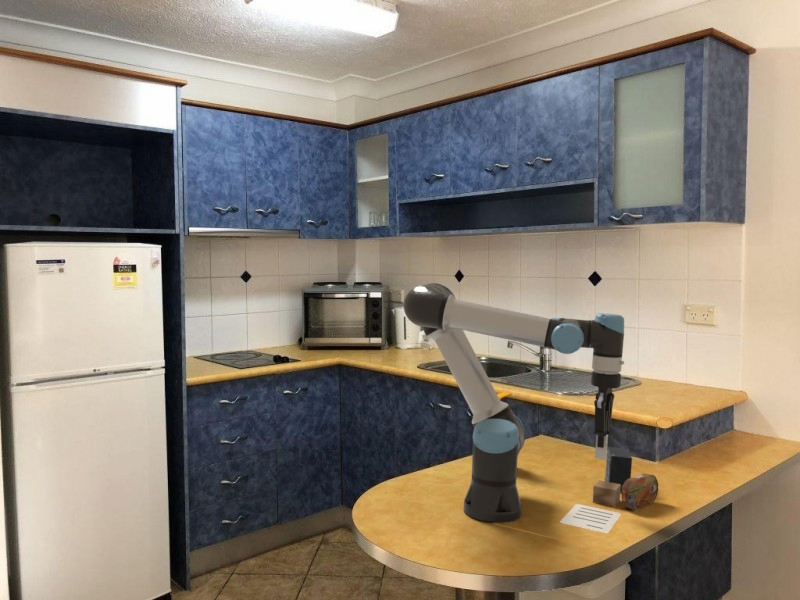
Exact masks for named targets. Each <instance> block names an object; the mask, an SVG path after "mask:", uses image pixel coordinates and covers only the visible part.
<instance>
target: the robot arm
mask: <svg viewBox="0 0 800 600" xmlns="http://www.w3.org/2000/svg"><path fill="white" fill-rule="evenodd" d="M403 301H404V302H403V311H404V315H405V316H406V318H407V319H408V321H410V322H411V323H412V324H413V325H415V326H417V327H421V329H422V330H423V333H424V334H425V336H426V338H428V339H431V340H433V341H434V343H435V344H436V346H437V348H438V350H439V352H440V353H441V355H442V357H443V359H444V361H445V363H446V365H447V367H448V369H449V371H450V373H451V374H452V377H453V378H454V380H455V382H456V384H457V385H458V388H459V389H460V390H459V391H460V392H461V394H462V396H463V397H464V399H465V401H466V404H468V408H469V409H470V411H471V413H472V415H473V416H472V420H471V424H472V426H473V432H472V457H471V459H472V460H471V461H472V462H471V463H472V464H471V478H470V479H471V480H470V484H469V487H468V489H467V491H466V495H465V497H464V500H463V512H464V513H465V514H466V515H467V516H468V517H470V518H473V519H475V520H478V521H482V522H488V523H497V524H498V523H499V524H500V523H502V524H503V523H509V522H510V523H511V522H514V521H518V520H519V519H520V518H521V517H522V514H523V513H522V511H523V507H522V501H521V499H520V494H519V491H518V487H517V475H518V473H517V472H518V459H519V458H518V456H519V454H520V452H521V450H522V449H523V447H524V445H525V441H526V431H525V430H526V429H525V426H524V424H523V422H522V421H521V420H520V419H519V417H518V416H516V415H515V414H514V412H513V410H512V408H511V407H510V405H509V403H507V402H504V401H501V400H500V399H499V397H498V395H497V394H498V393H497V392H496V390H495V388H494V386H493V384H492V382H491V380H490V378H489V376H488V374H487V373H486V371H485V369H484V367H483V365H482V364H481V362H480V360H479V358H478V356H477V354H476V352H475V350H474V348H473V346H472V345H471V343H470V341H469V338H468V337H467V335H466V333H465V331H467V332H471V333H476V334H480V335H485V336H490V337H494V338H498V339H503V340H507V341H514V342H519V343H523V344H527V345H533V346H537V347H541V348H546V349H549V350H554V351H557V352H558V353H560V354H563V355H565V354H566V355H570V354H573V353H575V352H578V351H579V350H580V349H581V348H582V349H583V348H585V349H593V351H592V358H591V359H592V361H591V369H592V371H591V378H590V383H591V385H592V386H593V387H597V388H598V389H597V392H596V393H595V399H594V401H593V404H594V431H593V435H595V448H594V449H595V451H594V459H598V460H603V461H605V460H606V461H607V447H608V441H609V440H608V439H609V435H612V431H610V430H611V424H612V423H611V422H612V415H613V406H614V399H615V398H616V397H615V396H616V395H615V394H614V393H613V389H619V388H620V387H621V380H622V379H621V378H622V375H621V373H620V372H622V367H623V366H622V365H625V361H624V360H623V351H624V337H625V318H624V317H623V316H622V314H621V315H620V314H618V313H617V314H616V313H599V312H598V313H596V314H595V316H594V319H590V320H587V319H575V318H565V317H559V318H558V317H557V318H556V317H552V318H549V317H544V316H538V315H534V314H528V313H525V312H520V311H514V310H509V309H504V308H499V307H494V306H490V305H486V304H485V305H484V304H481V303H475V302H471V301H466V300H465V301H464V300H460V299H456V296H455V294H454V292H453V291H452V290H451V289H450V288H448V287H447V286H445V285H442V284H441V283H437V282H435V283H434V282H433V283H427V284H419V285H416V286H414V287H413V288H411V289H410V290H408V292H407V293H406V296H405V297H404V300H403Z"/></svg>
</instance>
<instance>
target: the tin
mask: <svg viewBox="0 0 800 600" xmlns="http://www.w3.org/2000/svg"><path fill="white" fill-rule="evenodd" d="M658 492H659V482H658V479H657V477H656V476H655V475H654V474H650V473H649V474H648V473H641V474H638V475H635V476H631V478H629V479H627V480H626V481H625V482H624V484H623V487H622V491H621V503H622V505H623V507H624V508H626V509H629V510H631V511H632V510H633V511H637V510H639V509H641V508H644V507H647V506H650V505H653V504H654V502H655V501H656V500H657V497H658Z"/></svg>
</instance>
